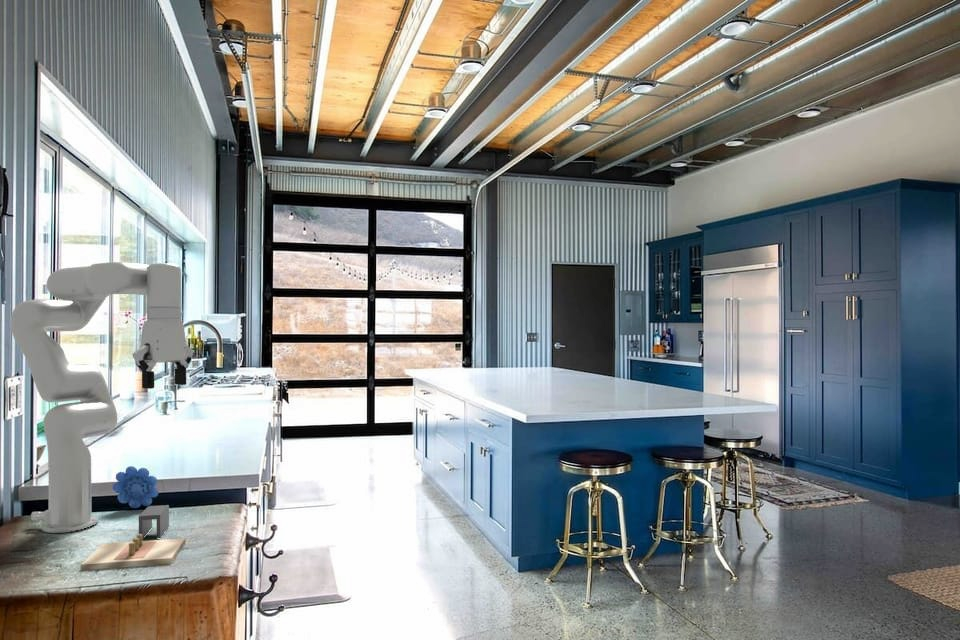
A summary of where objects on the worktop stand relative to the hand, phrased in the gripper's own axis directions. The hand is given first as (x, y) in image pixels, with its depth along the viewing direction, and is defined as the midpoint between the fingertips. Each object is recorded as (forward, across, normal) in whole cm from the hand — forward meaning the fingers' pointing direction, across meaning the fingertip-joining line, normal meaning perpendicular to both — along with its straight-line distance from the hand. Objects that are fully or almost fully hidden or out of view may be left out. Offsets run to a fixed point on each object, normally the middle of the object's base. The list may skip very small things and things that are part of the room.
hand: (164, 386), depth 164 cm
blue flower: (+37, -19, -30) cm, 52 cm away
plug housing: (+37, -3, -7) cm, 38 cm away
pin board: (+37, +10, +2) cm, 39 cm away
